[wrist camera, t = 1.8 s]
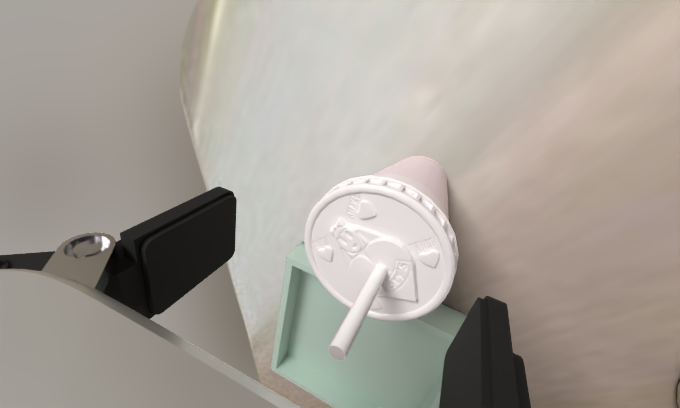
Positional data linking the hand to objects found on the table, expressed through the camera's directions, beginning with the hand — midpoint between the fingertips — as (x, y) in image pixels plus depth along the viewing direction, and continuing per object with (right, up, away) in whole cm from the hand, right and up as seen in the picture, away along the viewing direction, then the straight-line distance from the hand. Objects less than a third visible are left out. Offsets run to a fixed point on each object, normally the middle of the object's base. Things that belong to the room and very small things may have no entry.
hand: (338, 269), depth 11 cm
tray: (+2, -10, +17) cm, 20 cm away
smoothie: (+5, +4, +9) cm, 11 cm away
